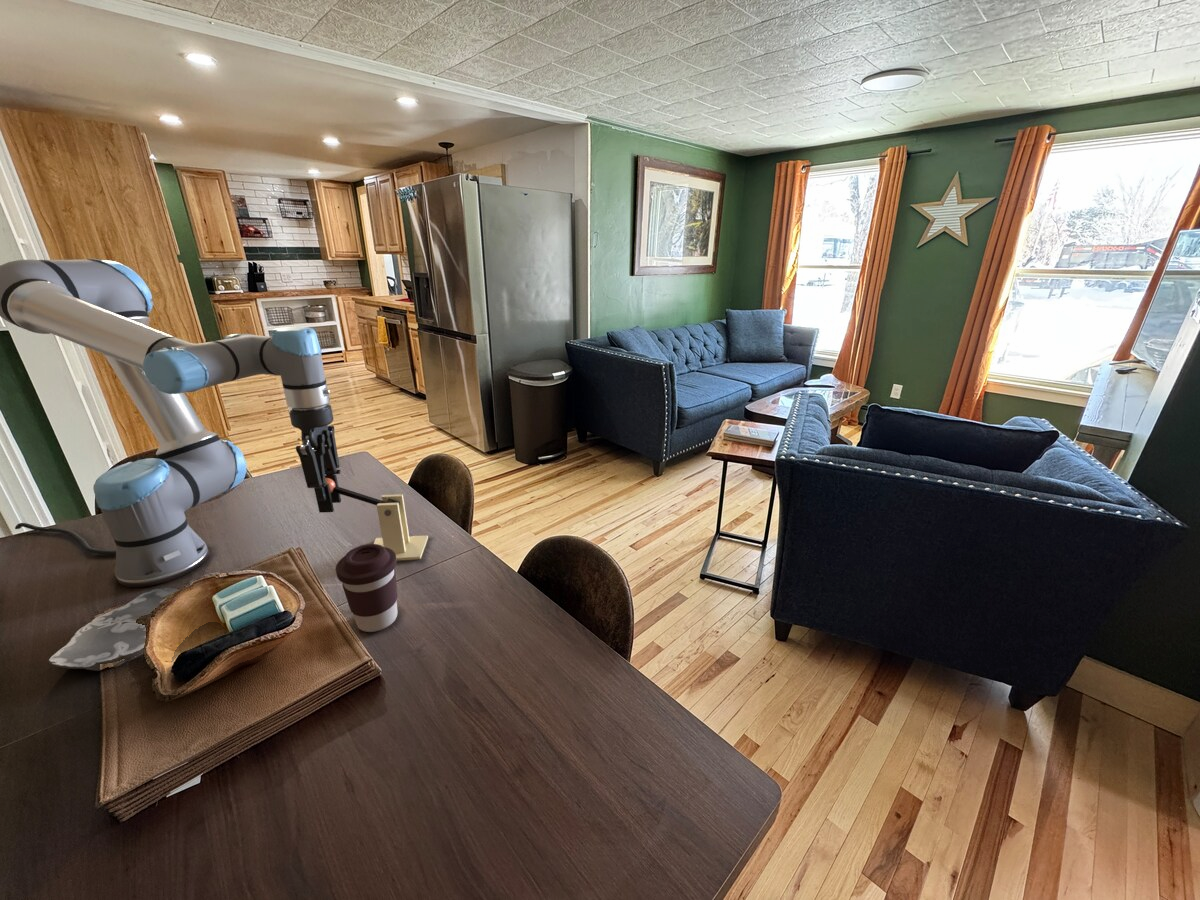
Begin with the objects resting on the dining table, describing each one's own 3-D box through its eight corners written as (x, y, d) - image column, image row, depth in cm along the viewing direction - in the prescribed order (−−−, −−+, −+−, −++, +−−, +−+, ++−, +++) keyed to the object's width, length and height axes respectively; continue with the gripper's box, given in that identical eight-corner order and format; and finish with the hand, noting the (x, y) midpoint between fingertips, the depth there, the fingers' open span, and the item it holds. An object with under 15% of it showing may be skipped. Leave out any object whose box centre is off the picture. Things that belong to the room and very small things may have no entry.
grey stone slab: (139, 682, 76) (132, 669, 75) (35, 679, 76) (27, 665, 75) (230, 601, 94) (225, 588, 93) (146, 598, 94) (140, 586, 93)
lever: (311, 494, 101) (316, 480, 100) (318, 486, 105) (322, 473, 104) (392, 519, 106) (397, 506, 105) (397, 511, 109) (401, 498, 108)
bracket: (365, 564, 106) (355, 510, 101) (377, 542, 115) (368, 491, 109) (420, 561, 108) (413, 508, 103) (428, 539, 116) (421, 489, 111)
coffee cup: (384, 642, 85) (371, 574, 80) (336, 633, 87) (320, 566, 81) (415, 606, 94) (405, 542, 89) (371, 598, 96) (358, 535, 90)
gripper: (312, 418, 89) (334, 525, 98) (344, 394, 104) (360, 489, 113) (268, 418, 88) (295, 527, 97) (307, 394, 103) (327, 490, 112)
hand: (330, 506), depth 105 cm, fingers closed on lever, 4 cm apart
